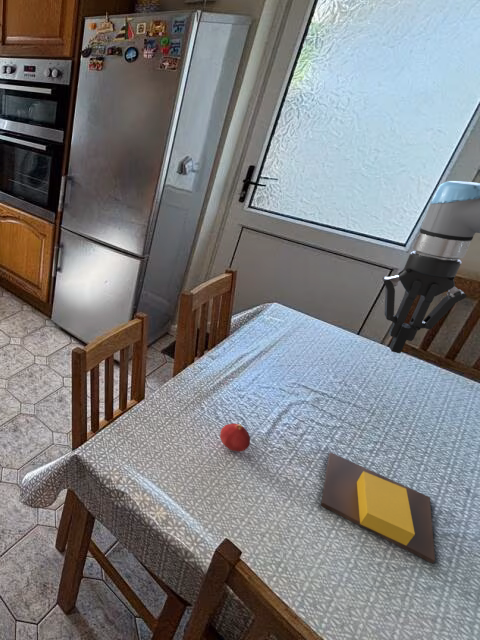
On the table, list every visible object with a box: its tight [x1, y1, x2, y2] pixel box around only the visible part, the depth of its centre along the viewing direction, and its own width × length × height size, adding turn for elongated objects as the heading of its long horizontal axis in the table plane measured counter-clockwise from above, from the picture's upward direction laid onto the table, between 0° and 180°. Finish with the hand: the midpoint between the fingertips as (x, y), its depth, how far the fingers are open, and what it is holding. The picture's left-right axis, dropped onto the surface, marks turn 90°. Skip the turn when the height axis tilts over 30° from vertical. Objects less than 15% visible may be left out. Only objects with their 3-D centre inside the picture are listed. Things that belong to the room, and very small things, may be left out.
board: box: [320, 452, 436, 564], centre depth 84 cm, size 16×16×1 cm
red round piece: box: [219, 422, 251, 452], centre depth 95 cm, size 6×6×8 cm
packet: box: [357, 471, 415, 545], centre depth 81 cm, size 6×4×11 cm
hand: (394, 349), depth 95 cm, fingers closed
